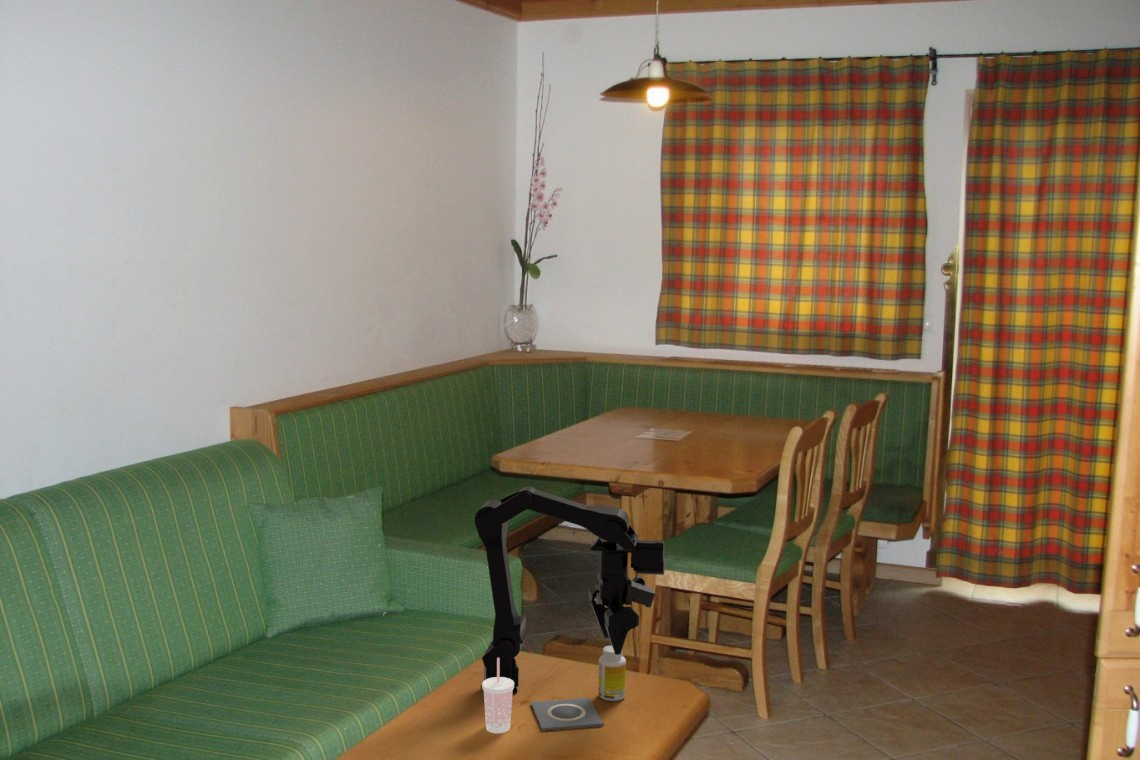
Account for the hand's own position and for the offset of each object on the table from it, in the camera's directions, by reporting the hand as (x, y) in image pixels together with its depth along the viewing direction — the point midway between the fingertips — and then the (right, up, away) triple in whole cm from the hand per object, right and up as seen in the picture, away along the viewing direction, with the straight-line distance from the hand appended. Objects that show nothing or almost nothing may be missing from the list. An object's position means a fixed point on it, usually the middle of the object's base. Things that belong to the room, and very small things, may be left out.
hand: (612, 645), depth 224 cm
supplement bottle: (0, -11, +1) cm, 11 cm away
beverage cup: (-22, -13, -13) cm, 29 cm away
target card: (-9, -12, -8) cm, 17 cm away
